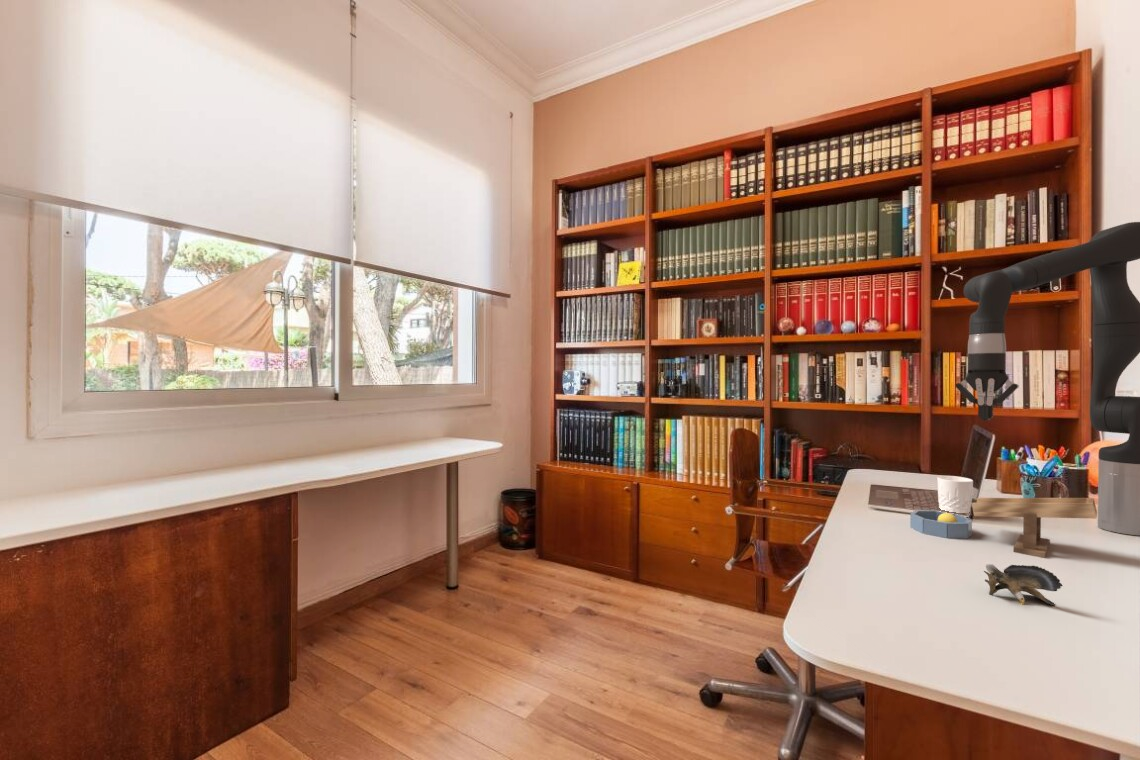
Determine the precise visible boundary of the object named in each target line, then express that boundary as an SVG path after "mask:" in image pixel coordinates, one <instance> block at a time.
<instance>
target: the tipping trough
mask: <svg viewBox="0 0 1140 760" xmlns="http://www.w3.org/2000/svg"><path fill="white" fill-rule="evenodd" d="M971 508H972V511H973V516H974V517H999V518H1000V517H1001V518H1003V517H1004V518H1005V517H1006V518H1023V517H1024V512H1031V513H1036V514H1037V517H1041V518H1048V519H1049V518H1051V519H1055V518H1056V519H1057V518H1058V519H1066V518H1067V519H1092V520H1093V519H1098V509H1097V507H1096V503H1095V498H1094V497H976V502H972V503H971Z"/></svg>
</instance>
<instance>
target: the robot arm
mask: <svg viewBox="0 0 1140 760" xmlns="http://www.w3.org/2000/svg"><path fill="white" fill-rule="evenodd" d="M1138 260H1140V221H1134V222H1133V221H1132V222H1126V223H1122V224H1120V225H1116V226H1112V227H1109V228H1106V229H1103V230H1100V231H1098V232H1096V233H1095V234H1093V236H1091V238H1090V240H1089V241H1087V242H1085V243H1082V244H1079V245H1075V246H1072V247H1068V248H1065V249H1064V248H1063V249H1060V250H1056V251H1054V252H1053V251H1052V252H1049V253H1045V254H1042V255H1037V256H1034V257H1032V258H1029V259H1026V260H1023V261H1020V262H1017V263H1015V264H1012V265H1010V266H1008V267H1005V268H1002V269H999V270H995V271H990V272H989V271H988V272H987V273H982V274H980V275H977V276H974V277H972V278H970V279H969V280H968V281H967V282H966V283H965V285H964V287H963V295H964V296H965V299H967V300H969V301H970V302H971V303H976V304H977V303H978V306H977V309H976V311H974V312H972V313H971V314H970V317H969V322H968V323H969V325H968V327H969V329H968V334H969V335H968V341H967V373H966V375H964V376H965V377H964V379H963V380H961V381H960V382H958V383H955V384H954V385H955V388H956V389H957V390H958V391H959V392H960V393H961V394H962V395H963V397H965V398H966V400H968V402H970V403H972V404H975V405H977V409H978V411H977V417H978V418H979V419H981V421H989V422H990V421H991V420H990V419H993V418H994V406H995V405H998V404H1002V403H1004V401H1005V400H1007V399H1008V398H1009V397H1010V396H1011V395H1012V394H1013V393H1014V392H1015V391H1016V390H1017V389H1019V386H1020V385H1019V384H1018V383H1015V382H1013V381H1011V380H1010V379H1009V376H1008V374H1007V372H1006V369H1007V365H1006V362H1007V361H1006V360H1007V341H1006V334H1005V332H1006V331H1005V330H1006V326H1005V325H1006V320H1005V317H1006V314H1007V312H1008V308H1009V305H1010V302H1011V300H1012V299H1011V298H1012V294H1013V293H1014V292H1021V291H1025V290H1029V289H1032V288H1033V289H1034V288H1035V287H1039V286H1041V285H1045V284H1048V283H1051V282H1055V281H1057V280H1060V279H1062V278H1065V277H1066V278H1067V277H1068V276H1072V275H1074V274H1077V273H1080V272H1082V271H1085V270H1089V273H1090V281H1091V290H1092V293H1091V294H1092V295H1091V297H1092V300H1091V301H1092V328H1091V329H1092V352H1093V353H1092V354H1093V367H1092V368H1093V370H1092V372H1093V373H1092V383H1091V392H1090V393H1091V394H1090V400H1089V401H1090V403H1089V418H1090V419H1089V420H1090V423H1091V425H1092V427H1093V428H1094V430H1096V431H1098V432H1103V433H1114V434H1126V435H1127V434H1128V439H1127V440H1126V441H1123V443H1119V444H1116V445H1110V446H1109V445H1108V446H1103V447H1100V448H1099V450H1098V469H1097V470H1098V478H1097V482H1098V483H1097V487H1098V488H1097V528H1100V529H1102V530H1105V531H1108V532H1109V531H1110V532H1114V533H1119V534H1124V535H1132V536H1140V396H1127V395H1117V396H1116V391H1117V390H1116V389H1117V386H1118V382H1119V379H1120V377H1121V375H1122V374H1123V372H1124V371H1125V369H1127V367H1128V366H1129V365H1130V364H1131V363H1133V361H1134V360H1135V359H1136V358H1137V357H1138V355H1139V354H1140V301H1139V300H1138V297H1136V296H1135V295H1134V293H1133V291H1132V290H1131V288H1130V285H1129V283H1128V276H1127V275H1128V274H1127V272H1128V271H1127V267H1128V262H1133V261H1138ZM1004 385H1005V386H1004ZM969 386H970V387H971V388H972V389H973V390H974V391H976V396H977V397H975V396H974V394H973V393H971V391H969V389H968V388H969ZM1003 386H1004V389H1005V390H1004V392H1003V393H1001V394H1000V395H999V396H998V397H997V398H995V397H996V392H998V391H999V390H1000V389H1001V388H1002V387H1003Z"/></svg>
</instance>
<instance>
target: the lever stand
mask: <svg viewBox="0 0 1140 760" xmlns="http://www.w3.org/2000/svg"><path fill="white" fill-rule="evenodd" d="M1022 518H1023V523H1022V524H1023V532H1022V533H1023V534H1020V535H1019V537H1018V538H1017V540H1016V542H1015V544H1014V546H1013V548H1012V550H1013V553H1018V554H1023V555H1028V556H1033V557H1039V558H1044V559H1045V558H1046V556H1047V554H1048V551H1049V550H1048V549H1049V547H1050V544H1051V539H1048V538H1044V537H1041V535H1042V534H1041V532H1042V529H1041V528H1042V517H1037V514H1036V513H1031V512H1024V517H1022Z"/></svg>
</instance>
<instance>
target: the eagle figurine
mask: <svg viewBox="0 0 1140 760" xmlns="http://www.w3.org/2000/svg"><path fill="white" fill-rule="evenodd" d="M984 567H985V570H983V572H984V573H985V575H987V577H988V579H987V578H986V579H984V582H985V583H987V584H988V586H989V591H988V595H990V596H991V595H992V596H993V595H994V594H996V593H997V592H998V591H1000V590H1005V589H1006V590H1008V591H1009V592H1010V593H1011V594H1012V595H1014V597H1015V598H1017V600H1018V601H1019V602H1020V605H1021V604H1022V606H1024V605H1025V597H1024V595H1023V593H1022V592H1024V593H1027V594H1029V595H1032V597H1033V596H1034V597H1036V598H1038V599H1040V600H1041V601H1044V602H1045V603H1046V604H1049V605H1050V606H1057V604H1056V603H1055V602H1053V601H1051V600H1050V599H1048V598H1046V596H1045V595H1043V593H1041V592H1040V591H1039V590H1043V591H1048V592H1057V591H1058V590H1061V588H1062V587H1063V583H1061V580H1060V579H1059V578H1058V577H1057V575H1056V574H1054V573H1053V572H1051V571H1049V570H1047V569H1046V568H1042V567H1041V566H1040V567H1039V566H1038V565H1024V564H1022V565H1019V564H1018V565H1017V564H1010V565H1009V566H1007V567H1005V568H1004V569H1003V572H1002V571H1001V570H1000V569H998V568H997V567H996V566H995V565H994V564H993V563H987V564H985V566H984ZM1054 603H1055V604H1054Z"/></svg>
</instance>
